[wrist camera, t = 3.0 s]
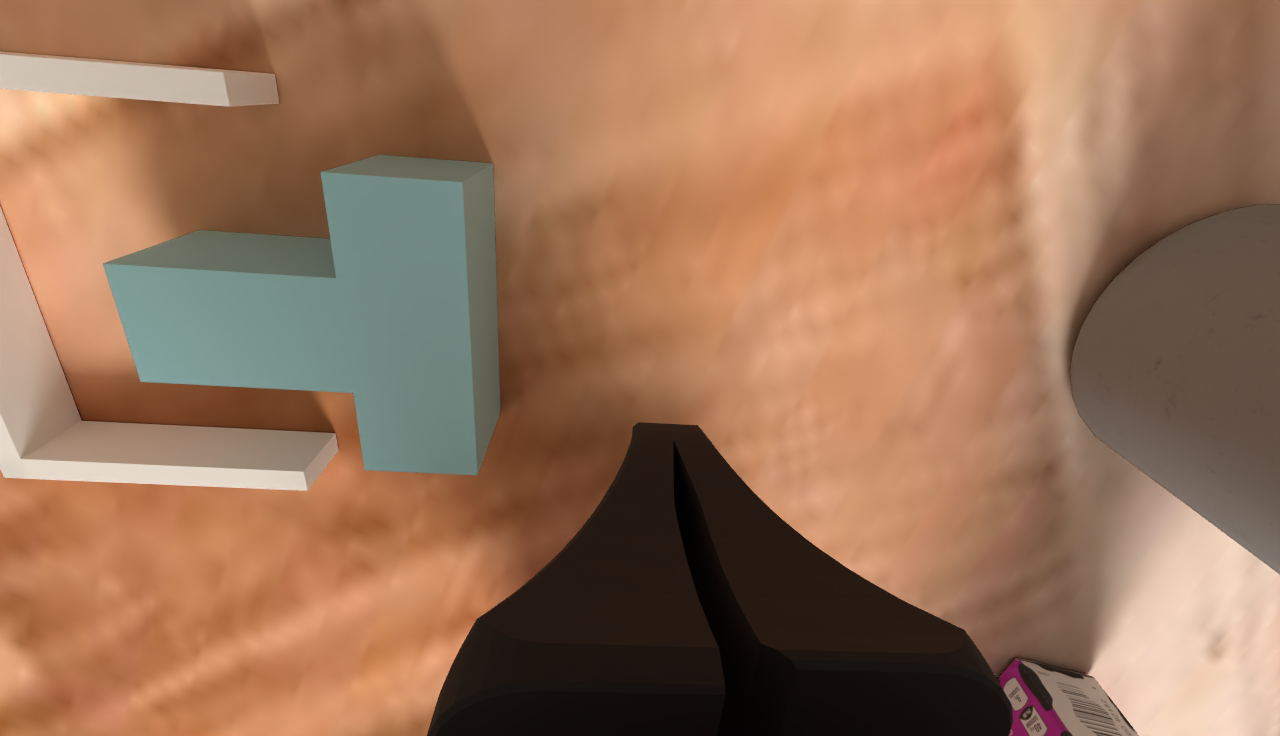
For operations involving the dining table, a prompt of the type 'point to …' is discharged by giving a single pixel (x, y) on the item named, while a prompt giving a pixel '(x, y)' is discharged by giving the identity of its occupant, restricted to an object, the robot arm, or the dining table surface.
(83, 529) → the dining table surface
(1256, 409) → the water bottle
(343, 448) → the dining table surface
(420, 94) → the dining table surface
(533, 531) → the dining table surface
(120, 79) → the white u-shaped bracket
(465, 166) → the t block
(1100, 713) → the candy bar box
